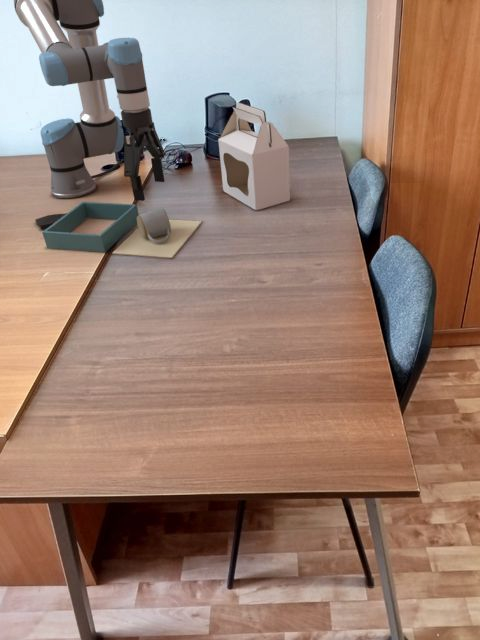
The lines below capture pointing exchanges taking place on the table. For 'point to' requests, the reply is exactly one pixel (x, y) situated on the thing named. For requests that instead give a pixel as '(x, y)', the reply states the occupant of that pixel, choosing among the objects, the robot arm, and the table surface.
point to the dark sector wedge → (48, 220)
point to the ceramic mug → (154, 225)
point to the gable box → (254, 160)
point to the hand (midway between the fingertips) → (150, 190)
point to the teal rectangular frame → (62, 239)
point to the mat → (147, 248)
